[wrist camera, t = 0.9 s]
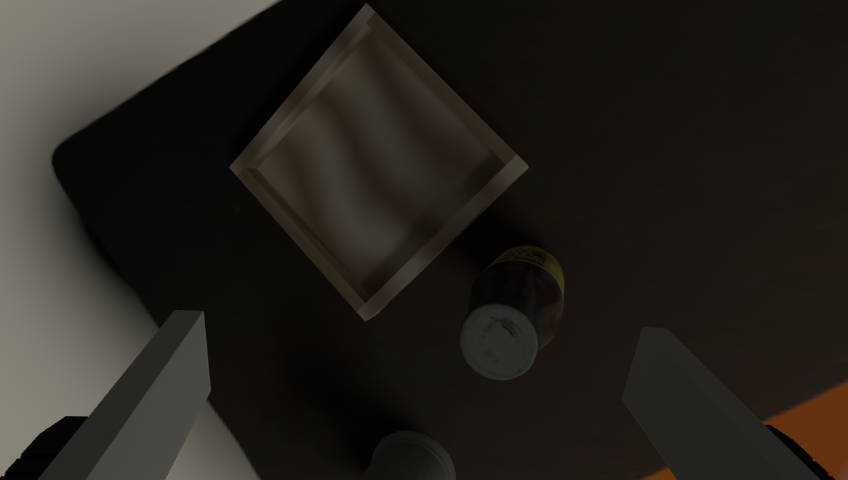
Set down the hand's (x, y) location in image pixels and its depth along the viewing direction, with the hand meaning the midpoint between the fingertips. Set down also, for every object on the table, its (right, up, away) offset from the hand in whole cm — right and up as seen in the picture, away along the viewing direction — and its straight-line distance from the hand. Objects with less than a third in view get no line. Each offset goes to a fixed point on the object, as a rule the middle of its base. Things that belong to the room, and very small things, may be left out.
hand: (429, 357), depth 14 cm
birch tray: (-5, +10, +31) cm, 33 cm away
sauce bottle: (+9, 0, +28) cm, 30 cm away
